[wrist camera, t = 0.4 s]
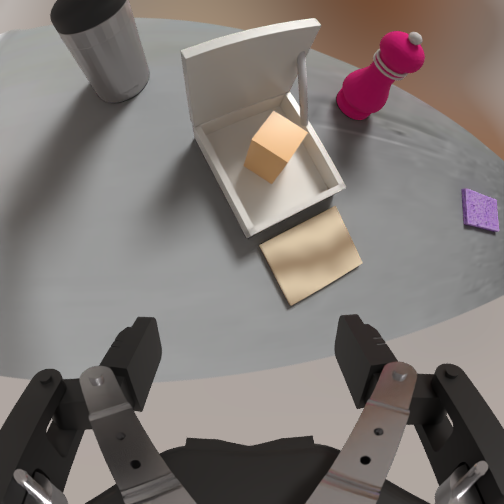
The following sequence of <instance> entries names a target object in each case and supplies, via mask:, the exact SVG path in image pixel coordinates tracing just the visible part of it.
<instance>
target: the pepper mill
mask: <svg viewBox="0 0 504 504" xmlns="http://www.w3.org/2000/svg"><path fill="white" fill-rule="evenodd" d="M421 43H422V37H421V35H419V34H418V33H416V32H411V33H410V34H406V33H404V32H400V31H393V32H390V33H388V34H386V35H385V36H384V37H383V38H382V40H381V42H380V49H378V50H377V52H376V53H375V54H374V57H373V59H374V61H373V63H372V64H371V65H370V66H368V67H366V68H363V69H359V70H356V71H354V72H352V73H350V74H349V75H348V76H347V77H346V78H345V80H344V82H343V87H342V89H341V90H340V91H339V92H338V94H337V104H338V106H339V108H340V109H341V111H342V112H343V113H344V114H345V115H347V116H348V117H350V118H352V119H355V120H363V119H366V118H367V117H368V116H369V115H370V114H371V113H375V112H377V111H379V110H380V109H381V108H382V107H383V106H384V105H385V103H386V101H387V99H388V95H389V90H390V86H391V84H392V83H393V82H394V81H395V80H402V79H403V78H404V77H405V76H406V75H407V74H408V73H413V72H416V71H417V70H419V69H420V68H421V67H422V65H423V63H424V58H425V56H424V51H423V49H422V47H421V45H420V44H421Z"/></svg>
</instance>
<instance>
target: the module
mask: <svg viewBox="0 0 504 504" xmlns="http://www.w3.org/2000/svg"><path fill="white" fill-rule="evenodd" d="M307 133H308V132H307V131H305V130H304V129H302V128H300V127H299V126H297V125H296V124H294V123H293V122H291V121H290V120H288V119H286V118H285V117H283V116H282V115H280V114H278V113H277V112H275V111H273V112H272V113H271V114H270V116H269V117H268V118H267V120H266V121H265V122H264V124H263V125H262V126H261V128H260V129H259V130H258V131H257V133H256V134H255V135H254V137H253V138H252V140H251V143H250V146H249V149H248V153H247V156H246V159H245V162H244V167H246V168H247V169H249V170H250V171H252V172H254V173H255V174H257V175H258V176H260V177H261V178H263V179H264V180H266V181H268V182H269V183H271V184H272V183H273V182H274V181H275V179H276V178H277V177H278V175H279V174H280V173H281V171H282V170H283V169H284V167H285V166H286V165H287V163H288V162H289V160H290V159H291V157H292V156H293V154H294V153H295V151H296V150H297V148H298V147H299V145H300V144H301V142H302V141H303V139H304V138H305V136H306V135H307Z"/></svg>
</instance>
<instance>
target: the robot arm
mask: <svg viewBox="0 0 504 504" xmlns="http://www.w3.org/2000/svg"><path fill="white" fill-rule="evenodd" d="M50 16H51V21H52V23H53V25H54V27H55V28H56V30H57V32H58V33H59V35H60V37H61V38H62V40H63V41H64V43H65V45H66V46H67V48H68V49H69V51H70V52H71V54H72V56H73V57H74V59H75V60H76V62H77V64H78V65H79V67H80V68H81V70H82V71H83V73H84V74H85V76H86V78H87V79H88V81H89V82H90V84H91V85H92V87H93V88H94V90H95V91H96V93H97V94H98V96H99V97H100V98H101V99H102V100H103V101H106V102H110V103H117V102H122V101H125V100H128V99H130V98H132V97H133V96H135V95H136V94H138V93H139V92H140V91H141V90H142V89H143V88H144V87H145V85H146V84H147V82H148V79H149V74H150V72H149V67H148V64H147V61H146V57H145V54H144V51H143V47H142V44H141V41H140V37H139V34H138V30H137V27H136V23H135V20H134V17H133V13H132V10H131V6H130V2H129V0H57V1H56V3H55V4H54V6H53V8H52V10H51V15H50ZM161 355H162V348H161V342H160V337H159V332H158V327H157V322H156V319H155V318H154V317H137V319H136V321H135V322H134V324H133V326H132V327H127V328H125V329H124V330H123V331H121V332H120V333H119V334H118V336H117V337H116V339H115V342H113V344H112V345H111V347H110V348H109V350H108V352H107V353H106V355H105V357H104V358H103V360H102V362H101V363H100V365H99V366H94V367H91V368H88V369H87V370H85V371H84V372H83V373H82V374H81V376H80V378H79V379H63V378H62V376H61V374H60V372H59V371H57V370H55V369H45V370H42V371H40V372H38V373H37V374H36V375H35V376H34V377H33V378H32V380H31V381H30V383H29V384H28V386H27V387H26V389H25V391H24V392H23V394H22V395H21V397H20V398H19V400H18V402H17V403H16V405H15V406H14V408H13V409H12V411H11V413H10V414H9V416H8V418H7V419H6V421H5V423H4V425H3V426H2V428H1V430H0V504H68V501H67V499H66V497H65V495H64V494H63V491H64V488H65V484H66V481H67V478H68V475H69V472H70V469H71V466H72V464H73V461H74V458H75V455H76V452H77V449H78V447H79V444H80V441H81V439H82V436H83V434H84V431H85V430H86V429H93V431H94V434H95V436H96V439H97V441H98V444H99V446H100V449H101V451H102V453H103V456H104V458H105V461H106V463H107V465H108V467H109V469H110V471H111V474H112V476H113V478H114V480H115V482H116V484H115V485H114V486H112V487H111V488H109V489H108V490H106V491H104V492H103V493H101V494H100V495H98V496H97V497H95V498H93V499H92V500H90V501H88V502H87V503H85V504H430V503H428V502H426V501H424V500H422V499H420V498H418V497H416V496H415V495H413V494H411V493H409V492H407V491H405V490H404V489H402V488H400V487H398V486H397V485H395V484H393V483H391V482H390V481H388V480H386V477H387V474H388V472H389V470H390V466H391V465H392V462H393V460H394V457H395V455H396V452H397V449H398V447H399V443H400V441H401V438H402V435H403V432H404V429H405V426H406V425H414V426H415V429H416V431H417V433H418V435H419V438H420V440H421V442H422V444H423V446H424V449H425V452H426V454H427V456H428V459H429V461H430V464H431V466H432V469H433V471H434V473H435V476H436V479H437V481H438V484H439V487H438V489H437V491H436V493H435V504H504V429H503V427H502V426H501V424H500V423H499V421H498V420H497V418H496V416H495V415H494V414H493V412H492V410H491V409H490V407H489V406H488V405H487V403H486V402H485V400H484V399H483V397H482V396H481V395H480V393H479V392H478V390H477V389H476V387H475V386H474V385H473V383H472V382H471V381H470V379H469V378H468V377H467V375H466V374H465V372H464V371H463V370H462V369H461V368H460V367H458V366H456V365H453V364H442V365H440V366H438V367H437V369H436V371H435V374H417V372H416V370H415V369H414V368H413V367H412V366H411V365H409V364H407V363H404V362H398V360H397V359H396V358H395V356H394V354H393V353H392V351H391V350H390V348H389V347H388V346H387V344H385V341H384V340H383V338H381V335H380V334H379V332H378V331H377V330H376V329H375V328H373V327H372V326H370V325H369V324H364V323H363V322H362V320H361V319H360V317H359V316H358V315H357V314H353V315H341V316H340V318H339V322H338V328H337V334H336V340H335V356H336V359H337V361H338V363H339V366H340V369H341V371H342V373H343V376H344V378H345V381H346V383H347V386H348V388H349V390H350V393H351V396H352V398H353V400H354V403H355V406H356V408H357V409H360V408H364V409H363V411H362V413H361V415H360V417H359V419H358V421H357V423H356V425H355V427H354V429H353V431H352V432H351V434H350V436H349V438H348V440H347V441H346V443H345V445H344V447H343V448H342V450H341V451H340V450H338V449H335V448H333V447H329V446H326V445H320V444H314V440H313V436H304V437H293V438H281V439H278V440H274V441H270V442H266V443H262V444H258V445H254V446H246V445H241V444H236V443H231V442H226V441H222V440H218V439H217V440H216V439H197V438H187V439H186V445H185V446H181V447H176V448H173V449H169V450H167V451H164V452H162V453H160V454H159V453H158V451H157V450H156V448H155V447H154V445H153V444H152V442H151V440H150V438H149V437H148V435H147V434H146V432H145V430H144V429H143V427H142V425H141V423H140V421H139V420H138V418H137V416H136V415H135V413H134V411H140V412H142V411H143V408H144V405H145V402H146V399H147V397H148V394H149V391H150V388H151V385H152V382H153V380H154V377H155V374H156V371H157V368H158V366H159V363H160V360H161ZM447 413H448V415H449V416H450V418H451V420H452V422H453V427H452V425H451V423H450V421H449V419H448V418H447V416H446V415H447ZM51 418H52V419H53V421H52V423H51V425H50V427H49V429H48V431H47V433H46V429H47V426H48V424H49V422H50V420H51Z"/></svg>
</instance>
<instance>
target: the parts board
mask: <svg viewBox="0 0 504 504" xmlns="http://www.w3.org/2000/svg"><path fill="white" fill-rule="evenodd" d="M259 247H260V249H261V251H262V253H263V254H264V256H265V258H266V260H267V262H268V264H269V266H270V268H271V270H272V272H273V274H274V276H275V278H276V280H277V282H278V284H279V286H280V288H281V290H282V292H283V293H284V295H285V297H286V299H287V301H288V303H289V305H291V306H292V305H293V304H295V303H297V302H299V301H300V300H302V299H304V298H306V297H307V296H309V295H311V294H313V293H314V292H316V291H318V290H319V289H321V288H323V287H324V286H326V285H328V284H329V283H331V282H333V281H334V280H336V279H338V278H339V277H341V276H343V275H344V274H346V273H348V272H349V271H351V270H352V269H354V268H356V267H357V266H359V265H360V264H362V261H361V258H360V256H359V254H358V252H357V250H356V247H355V245H354V243H353V241H352V239H351V237H350V235H349V232H348V230H347V228H346V226H345V224H344V222H343V220H342V218H341V216H340V214H339V212H338V210H337V208H336V206H334V207H332V208H330V209H328V210H326V211H324V212H322V213H320V214H318V215H316V216H314V217H312V218H311V219H309V220H307V221H305V222H303V223H301V224H299V225H297V226H295V227H293V228H291V229H289V230H287V231H285V232H284V233H282V234H280V235H278V236H276V237H274V238H272V239H270V240H268V241H266V242H264V243H262V244H260V245H259Z"/></svg>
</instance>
